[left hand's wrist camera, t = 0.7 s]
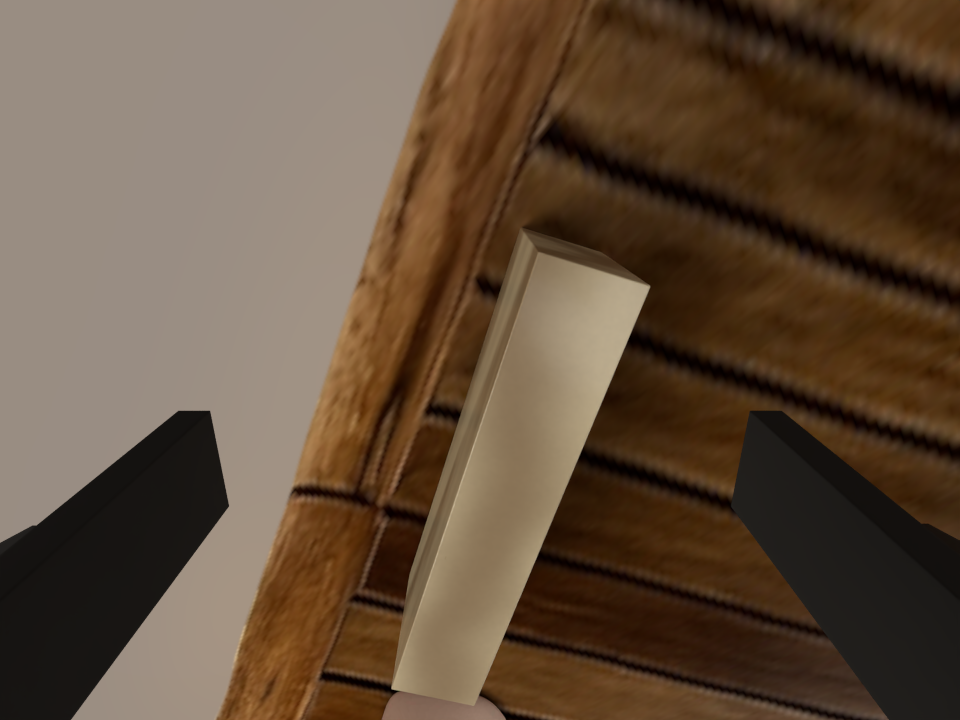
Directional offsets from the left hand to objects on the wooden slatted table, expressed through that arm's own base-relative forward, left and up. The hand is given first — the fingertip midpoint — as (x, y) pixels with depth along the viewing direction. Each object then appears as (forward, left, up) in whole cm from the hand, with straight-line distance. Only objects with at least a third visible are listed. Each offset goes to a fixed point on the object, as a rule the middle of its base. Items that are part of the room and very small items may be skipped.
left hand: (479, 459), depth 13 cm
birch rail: (-4, +9, -19) cm, 21 cm away
